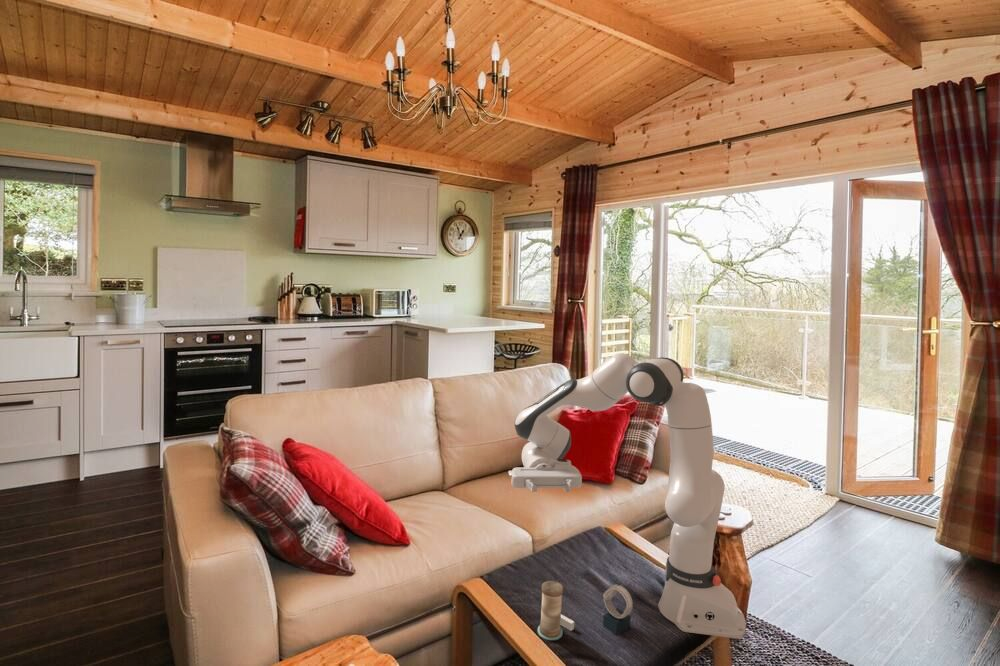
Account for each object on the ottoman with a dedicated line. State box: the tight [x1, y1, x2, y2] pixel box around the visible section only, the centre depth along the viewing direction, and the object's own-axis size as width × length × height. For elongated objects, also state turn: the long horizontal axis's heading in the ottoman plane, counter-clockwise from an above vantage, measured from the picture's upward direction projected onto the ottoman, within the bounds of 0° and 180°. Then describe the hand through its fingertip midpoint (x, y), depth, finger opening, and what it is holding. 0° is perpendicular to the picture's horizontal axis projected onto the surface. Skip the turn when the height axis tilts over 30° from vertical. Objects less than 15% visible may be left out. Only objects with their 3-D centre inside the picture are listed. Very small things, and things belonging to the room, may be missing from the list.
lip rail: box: [560, 613, 575, 632], centre depth 149 cm, size 7×1×2 cm, turn 47°
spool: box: [539, 580, 564, 638], centre depth 145 cm, size 5×5×12 cm
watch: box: [602, 583, 634, 636], centre depth 148 cm, size 6×8×11 cm
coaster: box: [537, 625, 564, 641], centre depth 145 cm, size 6×6×1 cm
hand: (551, 489), depth 156 cm, fingers open, 8 cm apart
